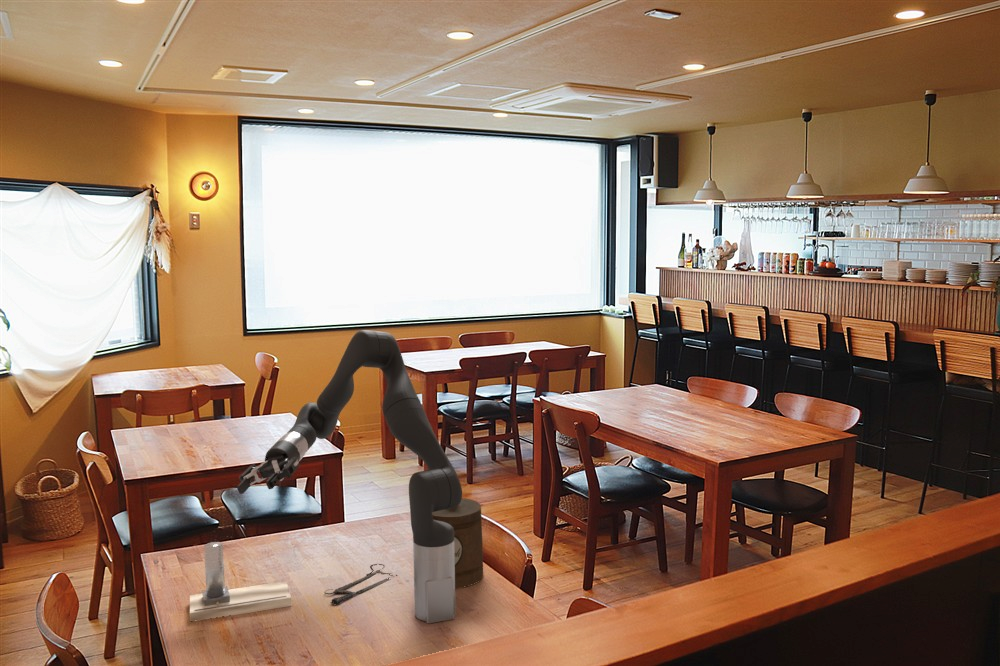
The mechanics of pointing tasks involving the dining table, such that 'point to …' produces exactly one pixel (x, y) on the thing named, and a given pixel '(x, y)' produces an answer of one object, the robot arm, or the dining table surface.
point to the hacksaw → (349, 593)
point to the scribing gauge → (215, 575)
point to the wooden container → (465, 540)
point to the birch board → (243, 601)
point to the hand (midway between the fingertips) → (253, 488)
